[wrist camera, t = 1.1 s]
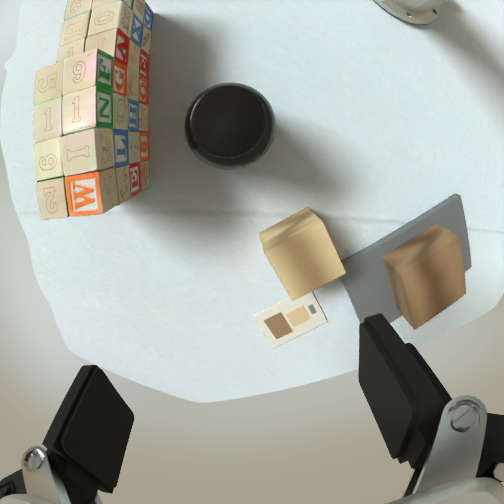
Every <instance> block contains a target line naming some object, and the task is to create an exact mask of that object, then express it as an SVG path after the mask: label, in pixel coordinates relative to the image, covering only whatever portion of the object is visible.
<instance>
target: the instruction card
mask: <svg viewBox="0 0 504 504" xmlns="http://www.w3.org/2000/svg"><path fill="white" fill-rule="evenodd" d="M252 318H253V319H254V321H255V322H256V323H257V325H258V326H259V328H260V329H261V331H262V332H263V333H264V335H265V336H266V338H267V339H268V340H269V342H270V343H271V345H272V346H273V347H277V346H279V345H281V344H283V343H285V342H287V341H289V340H291V339H294V338H296V337H298V336H300V335H302V334H304V333H306V332H308V331H310V330H312V329H314V328H316V327H318V326H320V325H322V324H324V323H326V322H327V320H326V318H325V316H324V314H323V312H322V310H321V308H320V306H319V304H318V302H317V301H316V299H315V297H314V295H313V293H312V292H310V293H308V294H306V295H304V296H302V297H300V298H299V299H297V300H295V301H293V302H292V300H291V298H290V297H289V298H287V299H286V300H284V301H282V302H280V303H278V304H276V305H274V306H272V307H270V308H268V309H266V310H264V311H262V312H260V313H258V314H255V315H253V316H252Z"/></svg>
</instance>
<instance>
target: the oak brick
mask: <svg viewBox="0 0 504 504" xmlns="http://www.w3.org/2000/svg"><path fill="white" fill-rule="evenodd" d="M259 234H260V239H261V243H262V247H263V252H264V254H265V256H266V257H267V259H268V261H269V262H270V264H271V266H272V268H273V269H274V271H275V273H276V274H277V276H278V278H279V279H280V281H281V283H282V284H283V286H284V288H285V290H286V291H287V293H288V295H289V296H290V298H291V300H292V302H293V301H295V300H297V299H299V298H300V297H302V296H304V295H306V294H308V293H310V292H312V291H314V290H316V289H318V288H319V287H321V286H323V285H325V284H327V283H329V282H331V281H332V280H334V279H336V278H338V277H340V276H342V275H343V274H345V273H346V272H345V270H344V267H343V265H342V263H341V261H340V258H339V256H338V254H337V252H336V249H335V247H334V245H333V243H332V241H331V239H330V236H329V234H328V232H327V230H326V228H325V226H324V224H323V222H322V220H321V219H320V218H318V217H317V216H316V215H315V214H314V213H313V212H312V211H311V210H310V209H309V208H308V207H306V208H304V209H303V210H301V211H299V212H297V213H295V214H293V215H292V216H290V217H288V218H286V219H284V220H282V221H281V222H279V223H277V224H275V225H273V226H271V227H270V228H268V229H266V230H264V231H262V232H260V233H259Z"/></svg>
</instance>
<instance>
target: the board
mask: <svg viewBox="0 0 504 504" xmlns="http://www.w3.org/2000/svg"><path fill="white" fill-rule="evenodd" d="M435 223H436V224H438V225H440V226H442V227H444V228H446V229H448V230H449V231H451V232H453V233H455V234H457V235H459V237H460V243H461V250H462V257H463V265H464V272H465V271H466V270H468V269H469V268H470V267H472V266H471V256H470V248H469V240H468V234H467V227H466V221H465V216H464V211H463V206H462V201H461V196H460V195H458V194H453V195H452V196H450V197H449V198H447V199H446V200H444V201H443V202H441V203H439V204H438V205H436V206H435V207H433V208H431V209H430V210H428V211H427V212H425V213H423V214H422V215H420V216H419V217H417V218H415V219H414V220H412V221H410V222H409V223H407V224H406V225H404V226H402V227H401V228H399V229H397V230H396V231H394V232H392V233H391V234H389V235H387V236H385V237H384V238H382V239H380V240H379V241H377V242H375V243H373V244H372V245H370V246H368V247H367V248H365V249H363V250H361V251H360V252H358V253H356V254H354V255H352V256H351V257H349V258H347V259H345V260H344V261H342V262H341V263H342V265H343V267H344V270H345V272H346V273H345V274H343V275H342V276H340V277H341V279H342V281H343V283H344V286H345V288H346V290H347V292H348V295H349V297H350V299H351V302H352V304H353V306H354V309H355V311H356V314H357V316H358V318H359V321H360V323H364V319H365V318H366V317H369V316H372V315H375V314H378V313H382V314H383V315H384V317H385V318H386V319H387V321H388V322H389V323H390V322H391V321H393V320H395V319H396V318H398V317H400V316H401V315H402V314H401V313H400V312H399V310H398V309H397V305H396V302H395V298H394V295H393V292H392V288H391V285H390V282H389V279H388V276H387V272H386V269H385V266H384V263H383V260H382V256H384V255H386V254H387V253H389V252H391V251H392V250H394V249H396V248H397V247H399V246H400V245H402V244H404V243H405V242H407V241H409V240H410V239H412V238H413V237H415V236H417V235H418V234H420V233H421V232H423V231H424V230H426V229H428V228H429V227H431V226H432V225H434V224H435Z"/></svg>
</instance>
